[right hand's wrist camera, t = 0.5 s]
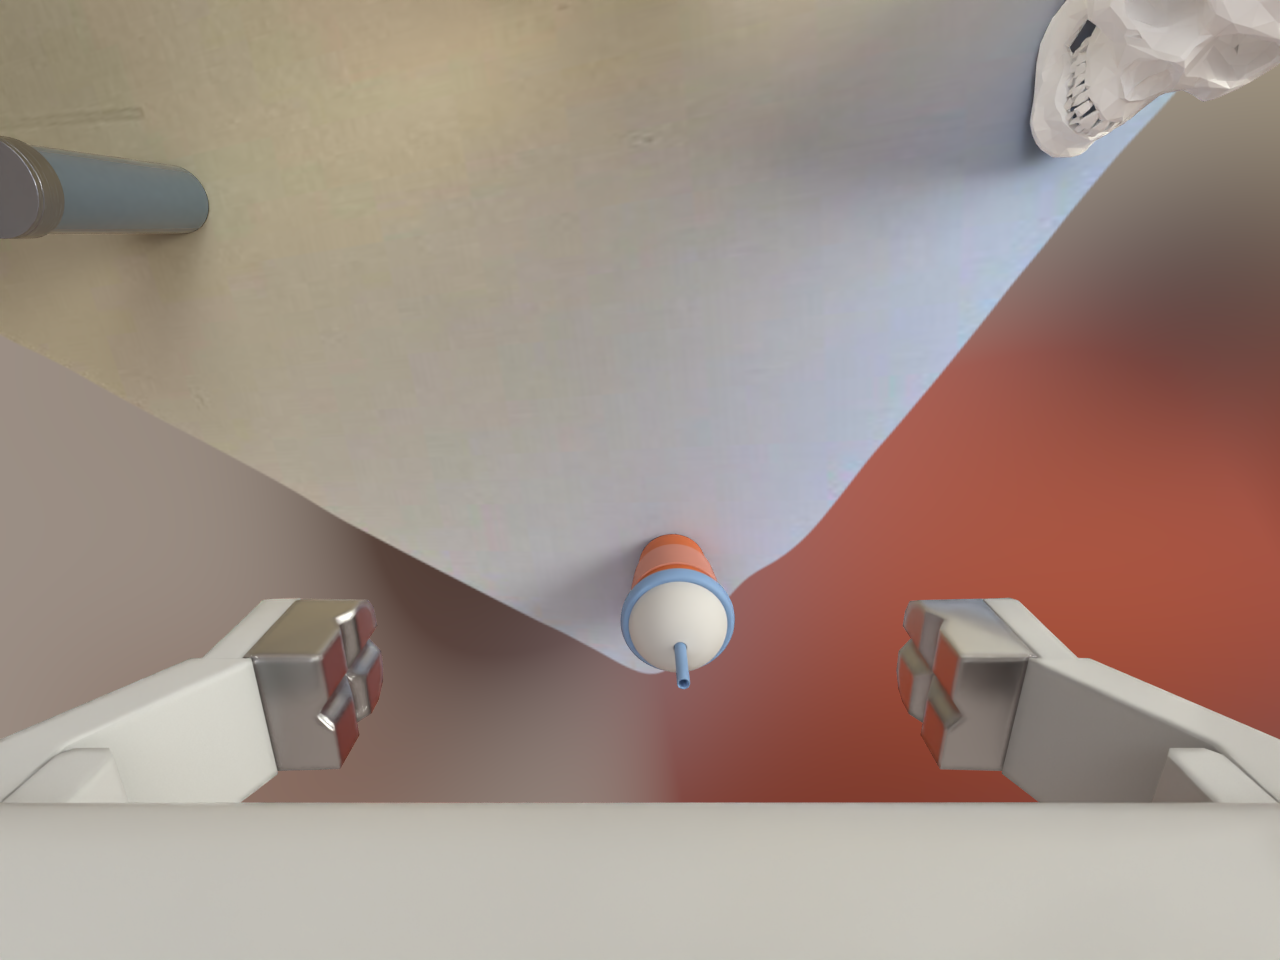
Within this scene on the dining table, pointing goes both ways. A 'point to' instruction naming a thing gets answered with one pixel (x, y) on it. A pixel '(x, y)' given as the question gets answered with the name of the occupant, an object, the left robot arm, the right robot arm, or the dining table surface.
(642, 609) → the cup with straw
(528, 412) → the dining table surface
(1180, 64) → the skull
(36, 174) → the lid
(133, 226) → the bottle
